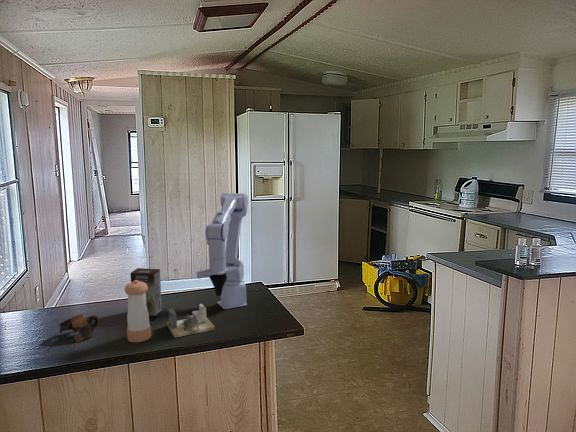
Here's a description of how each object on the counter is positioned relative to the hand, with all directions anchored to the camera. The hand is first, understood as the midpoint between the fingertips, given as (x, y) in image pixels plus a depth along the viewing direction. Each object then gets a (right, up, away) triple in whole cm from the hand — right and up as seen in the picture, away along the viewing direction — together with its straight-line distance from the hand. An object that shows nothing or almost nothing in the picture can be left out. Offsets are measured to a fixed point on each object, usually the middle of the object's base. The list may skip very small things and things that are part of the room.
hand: (218, 295), depth 153 cm
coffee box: (-28, -8, +9) cm, 30 cm away
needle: (-9, -9, -9) cm, 16 cm away
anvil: (-15, -10, -6) cm, 19 cm away
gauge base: (-9, -10, -5) cm, 14 cm away
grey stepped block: (-7, -8, -3) cm, 11 cm away
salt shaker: (-24, -12, -13) cm, 29 cm away
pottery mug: (-43, -12, -11) cm, 46 cm away
